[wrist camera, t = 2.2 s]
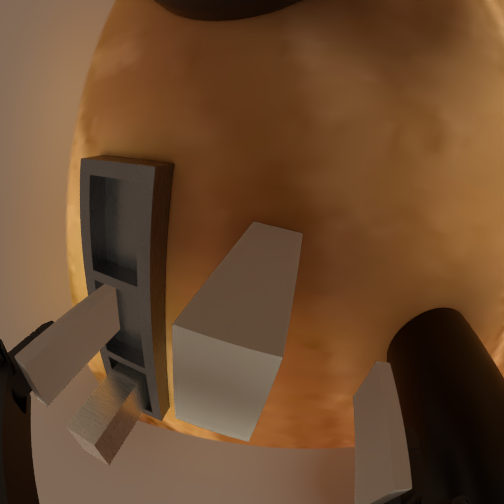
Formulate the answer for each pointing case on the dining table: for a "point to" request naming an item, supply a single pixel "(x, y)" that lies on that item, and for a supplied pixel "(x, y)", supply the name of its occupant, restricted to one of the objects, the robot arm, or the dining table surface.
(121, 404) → the rack
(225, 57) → the dining table surface
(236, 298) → the block
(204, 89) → the dining table surface
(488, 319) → the dining table surface
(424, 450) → the water bottle
